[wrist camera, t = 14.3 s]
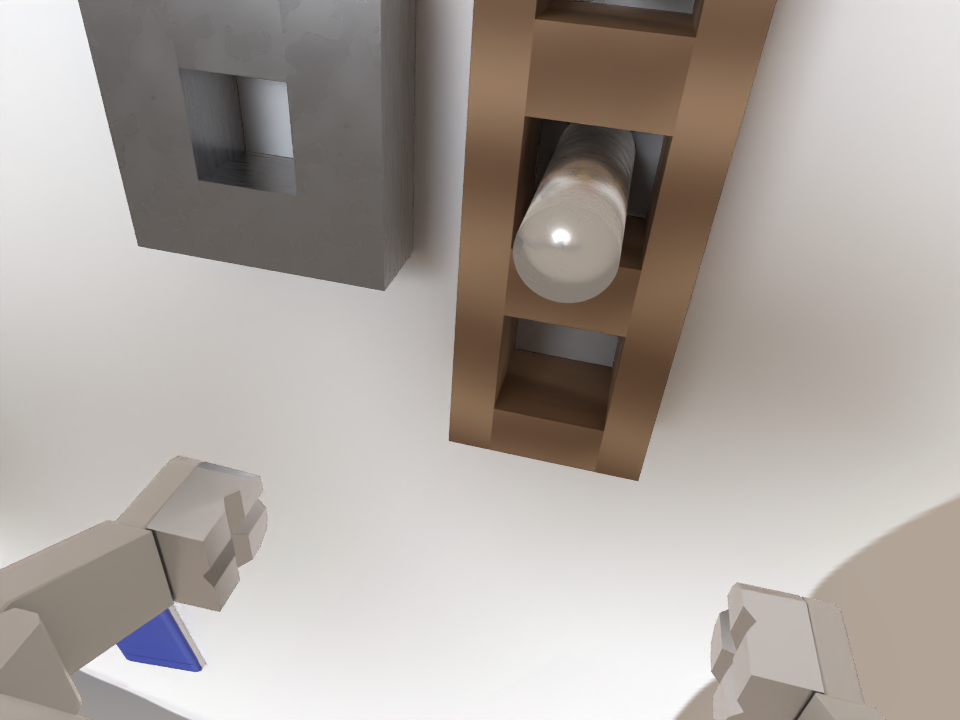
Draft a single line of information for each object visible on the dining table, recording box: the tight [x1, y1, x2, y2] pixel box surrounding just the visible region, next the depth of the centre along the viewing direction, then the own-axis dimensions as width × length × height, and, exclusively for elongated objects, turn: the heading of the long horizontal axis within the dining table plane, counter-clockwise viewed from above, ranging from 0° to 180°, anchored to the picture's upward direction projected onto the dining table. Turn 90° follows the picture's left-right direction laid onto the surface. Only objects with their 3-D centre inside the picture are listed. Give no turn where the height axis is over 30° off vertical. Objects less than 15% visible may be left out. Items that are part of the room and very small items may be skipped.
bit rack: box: [449, 0, 777, 481], centre depth 26 cm, size 26×9×5 cm, turn 176°
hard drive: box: [117, 605, 205, 672], centre depth 59 cm, size 2×8×12 cm
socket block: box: [78, 0, 416, 291], centre depth 29 cm, size 12×12×4 cm
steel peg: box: [513, 123, 635, 303], centre depth 24 cm, size 3×3×10 cm
